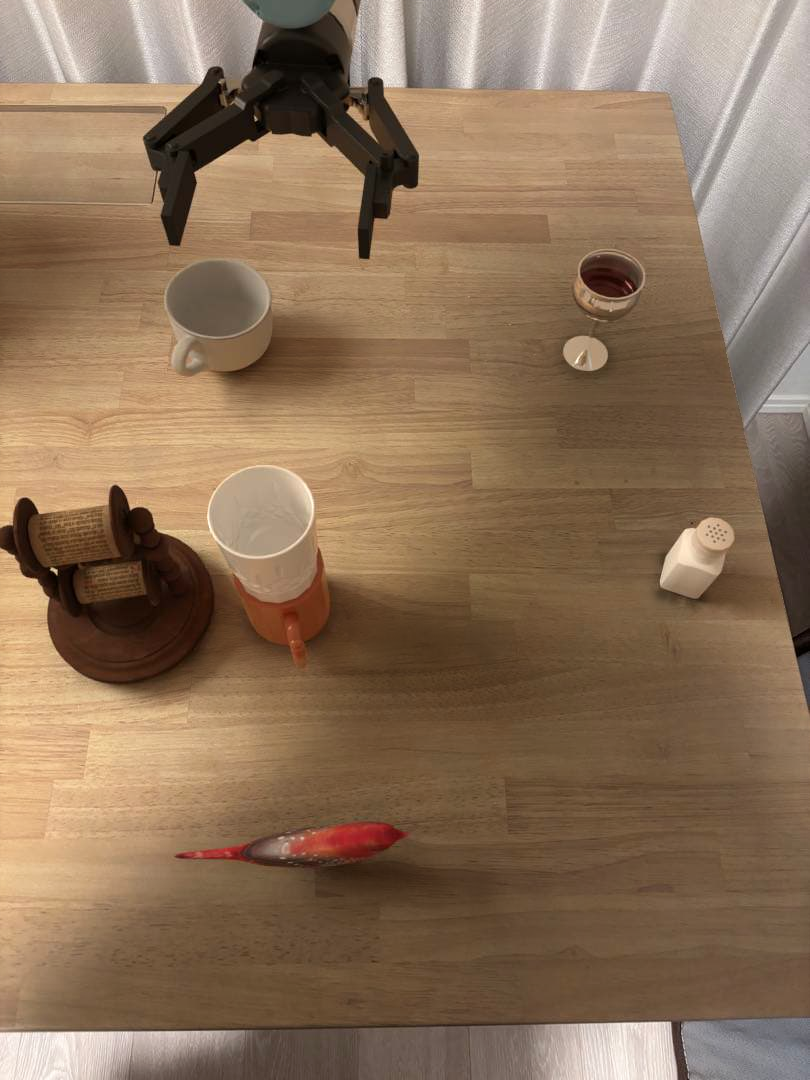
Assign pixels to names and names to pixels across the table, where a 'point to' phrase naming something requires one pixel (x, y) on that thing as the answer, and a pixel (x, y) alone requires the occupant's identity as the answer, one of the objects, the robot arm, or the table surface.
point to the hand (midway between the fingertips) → (266, 238)
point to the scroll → (113, 588)
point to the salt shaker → (697, 558)
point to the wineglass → (602, 301)
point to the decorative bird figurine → (311, 846)
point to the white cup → (266, 531)
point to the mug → (291, 615)
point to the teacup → (218, 316)
